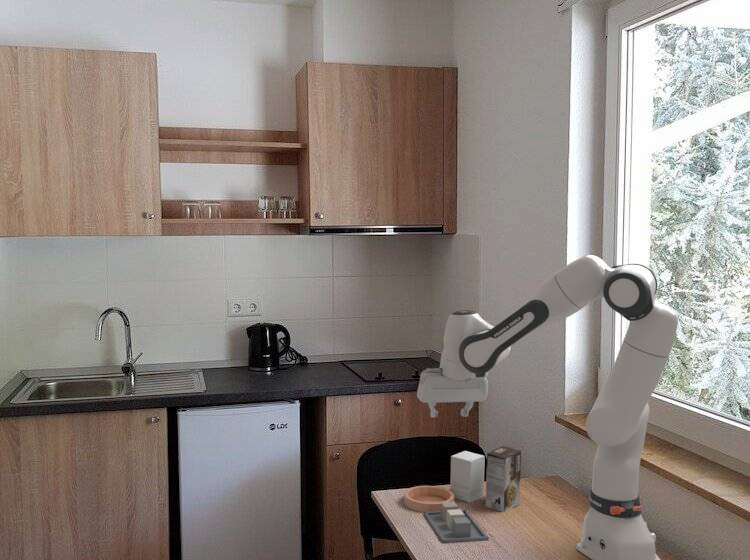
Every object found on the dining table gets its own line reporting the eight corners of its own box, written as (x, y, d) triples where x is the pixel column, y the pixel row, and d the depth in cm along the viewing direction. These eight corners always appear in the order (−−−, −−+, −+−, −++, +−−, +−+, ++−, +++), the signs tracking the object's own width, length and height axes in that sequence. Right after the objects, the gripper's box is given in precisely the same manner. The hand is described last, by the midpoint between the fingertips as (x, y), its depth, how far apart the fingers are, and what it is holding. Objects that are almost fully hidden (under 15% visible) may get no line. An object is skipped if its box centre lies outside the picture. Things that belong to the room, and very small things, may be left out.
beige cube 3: (464, 529, 207) (464, 514, 207) (450, 529, 207) (450, 515, 206) (459, 523, 211) (460, 509, 210) (446, 524, 210) (446, 509, 210)
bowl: (460, 512, 219) (460, 502, 219) (411, 515, 217) (411, 505, 216) (445, 494, 233) (446, 484, 233) (399, 497, 230) (399, 487, 230)
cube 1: (457, 520, 213) (458, 506, 212) (444, 521, 212) (444, 507, 212) (453, 515, 216) (454, 501, 216) (440, 516, 215) (441, 502, 215)
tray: (488, 541, 201) (488, 537, 201) (442, 544, 199) (442, 540, 199) (466, 513, 219) (466, 509, 219) (424, 516, 217) (424, 511, 216)
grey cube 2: (470, 537, 202) (471, 522, 202) (456, 538, 201) (456, 523, 201) (466, 532, 205) (466, 517, 205) (452, 532, 205) (452, 518, 204)
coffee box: (500, 499, 231) (502, 445, 229) (520, 504, 226) (522, 450, 225) (484, 508, 224) (486, 452, 222) (504, 514, 219) (506, 457, 218)
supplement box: (484, 497, 231) (486, 455, 230) (469, 504, 226) (470, 461, 225) (464, 491, 236) (465, 449, 235) (448, 497, 231) (450, 455, 230)
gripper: (426, 372, 207) (419, 421, 210) (493, 371, 215) (486, 419, 218) (416, 364, 213) (410, 413, 216) (482, 364, 221) (475, 411, 223)
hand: (449, 416), depth 217 cm, fingers open, 8 cm apart
